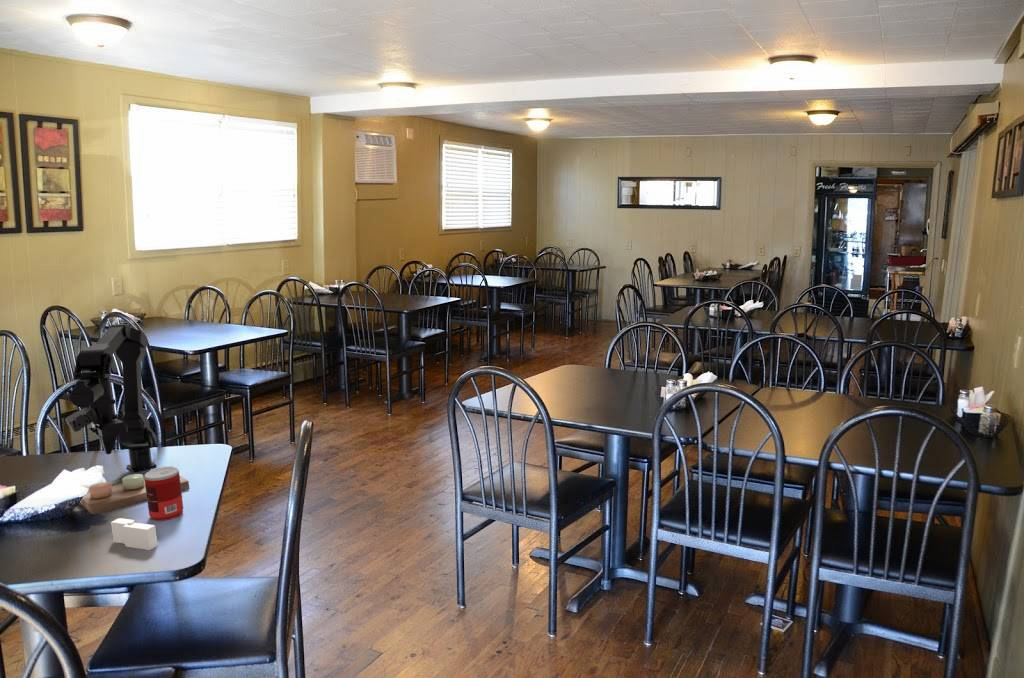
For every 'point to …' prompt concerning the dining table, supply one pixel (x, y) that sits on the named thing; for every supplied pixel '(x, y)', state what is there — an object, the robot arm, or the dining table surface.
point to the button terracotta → (100, 490)
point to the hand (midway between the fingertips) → (108, 453)
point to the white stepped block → (134, 534)
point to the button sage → (133, 481)
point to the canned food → (163, 493)
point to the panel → (120, 498)
